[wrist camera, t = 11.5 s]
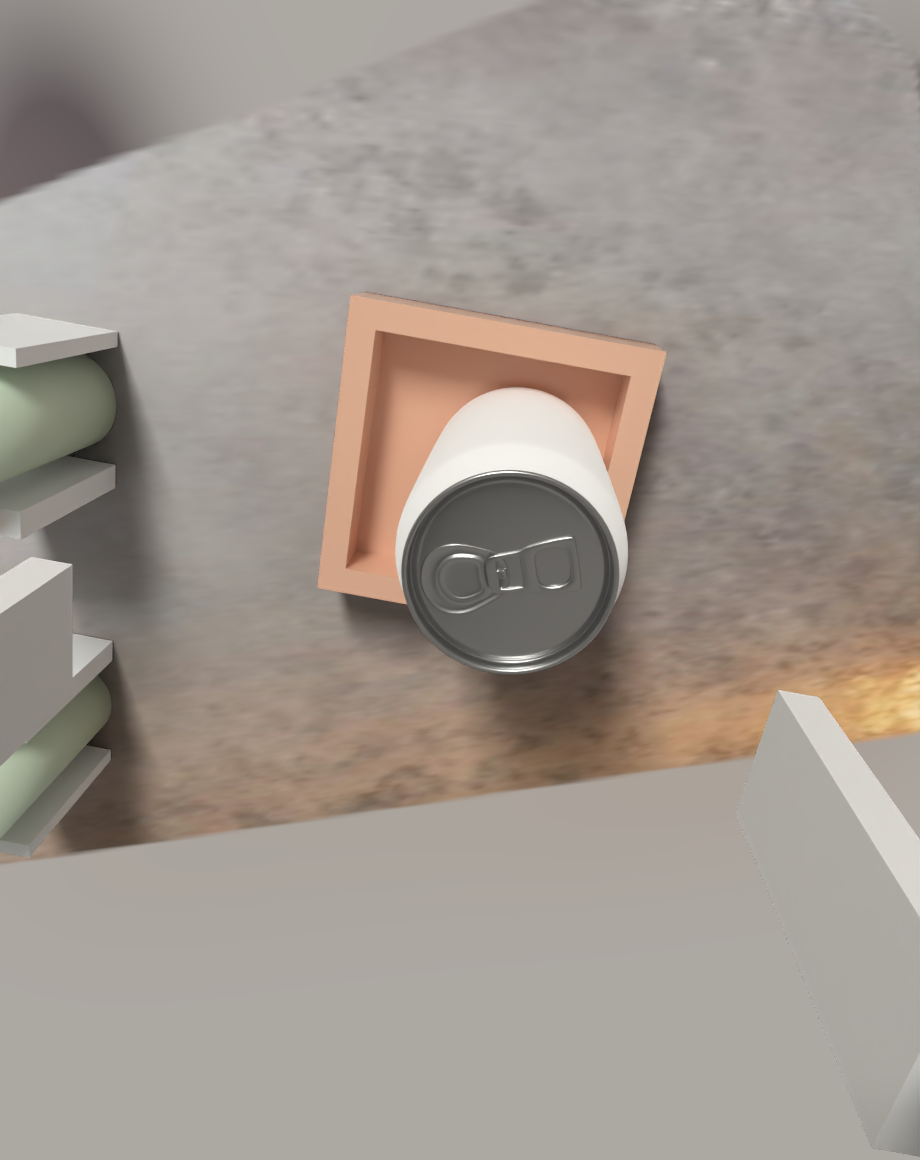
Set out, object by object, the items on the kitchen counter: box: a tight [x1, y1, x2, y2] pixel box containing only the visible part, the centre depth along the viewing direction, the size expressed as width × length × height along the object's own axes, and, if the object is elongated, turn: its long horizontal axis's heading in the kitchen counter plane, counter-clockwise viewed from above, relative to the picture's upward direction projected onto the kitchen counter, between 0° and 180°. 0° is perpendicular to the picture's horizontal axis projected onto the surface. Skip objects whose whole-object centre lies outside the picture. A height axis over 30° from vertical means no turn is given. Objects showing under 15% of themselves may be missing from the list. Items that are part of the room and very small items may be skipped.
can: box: [395, 387, 628, 674], centre depth 27 cm, size 6×6×12 cm
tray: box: [317, 292, 667, 639], centre depth 32 cm, size 11×11×3 cm
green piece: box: [0, 354, 117, 482], centre depth 30 cm, size 4×4×9 cm
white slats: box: [0, 313, 118, 858], centre depth 33 cm, size 4×20×8 cm, turn 171°
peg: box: [0, 675, 112, 839], centre depth 35 cm, size 4×4×9 cm
